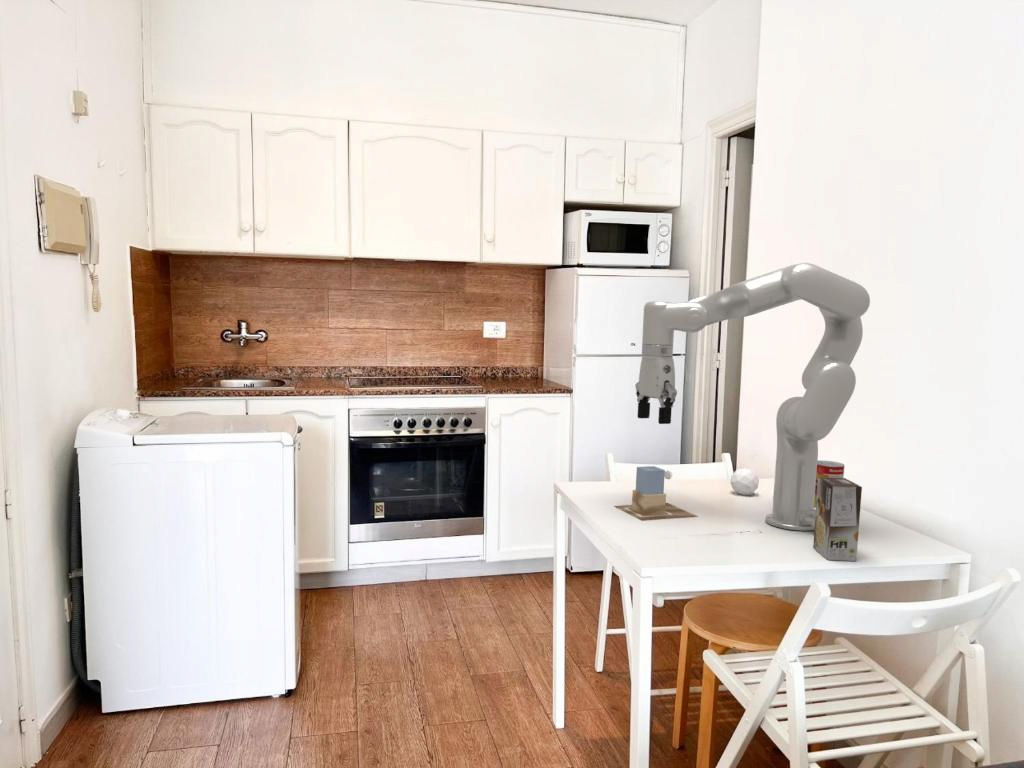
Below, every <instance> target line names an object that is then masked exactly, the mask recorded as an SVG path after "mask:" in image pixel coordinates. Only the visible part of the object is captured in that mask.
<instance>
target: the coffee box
mask: <svg viewBox="0 0 1024 768" xmlns="http://www.w3.org/2000/svg"><path fill="white" fill-rule="evenodd" d="M862 490H863V487H862V486H861V485H859V484H857V483H856V482H853V481H852V480H849V479H847V478H845V477H843V478H832V477H826V478H824V477H818V483H817V498H816V507H815V510H816V514H815V528H814V530H813V531H814V533H813V545H812V548H813V549H814V550H815V551H817V552H818V553H819V554H820V555H821V556H823V557H824V558H825V559H826V560H829V561H846V562H856V561H857V556H858V555H857V554H858V545H859V544H858V543H859V542H858V541H859V530H860V516H861V504H862V492H863V491H862Z"/></svg>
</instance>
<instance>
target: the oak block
mask: <svg viewBox="0 0 1024 768" xmlns="http://www.w3.org/2000/svg"><path fill="white" fill-rule="evenodd" d="M631 494H632V495H631V496H632V497H631V505H632V510H634V511H636V512H638V513H640V514H642V515H658V514H665V505H666V503H667V502H666V501H667V494H666V493H664V494H654V495H645V494H643V493H640V492H638V491H636V489H632V493H631Z"/></svg>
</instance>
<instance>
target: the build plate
mask: <svg viewBox="0 0 1024 768" xmlns="http://www.w3.org/2000/svg"><path fill="white" fill-rule="evenodd" d="M613 507H614V508H616V509H618V510H620V511H622V512H624V513H626V514H628V515H630V516H632V517H634V518H635V519H637V520H639V521H641V522H642V521H643V522H644V521H657V520H659V521H660V520H670V519H671V520H673V519H683V518H684V519H686V518H687V519H688V518H698V517H699V516H698V515H695V514H694V513H691V512H689V511H687V510H684V509H682V508H680V507H678V506H675V505H673V504H671V503H670V502H666V505H665V514H658V515H642V514H640V513H638V512H636V511H634V510H632V504H628V505H627V504H626V505H624V504H623V505H613Z"/></svg>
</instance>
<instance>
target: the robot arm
mask: <svg viewBox="0 0 1024 768" xmlns="http://www.w3.org/2000/svg"><path fill="white" fill-rule="evenodd" d="M799 300H800V301H801V300H802V301H804V302H806V303H809V304H811V305H812V306H815V307H817V308H818V310H819V311H820V312H819V313H820V314H821V315H822V317H823V320H824V324H825V325H824V327H825V329H824V331H823V335H822V337H821V340H820V342H819V344H818V346H817V348H816V349H815V351H814V353H813V354H812V356H811V357H810V360H809V361H808V363H807V365H806V367H805V368H804V370H803V372H802V375H801V384H802V387H803V388H804V389H805V393H804V394H803V396H792V397H790V398H788V399H786V400H784V401H783V402H782V403H781V404H780V406H779V407H778V410H777V413H776V418H775V419H776V457H775V458H776V459H775V470H774V484H773V495H772V496H773V497H772V498H773V499H772V512H771V513H769V514H766V515H765V518H764V519H765V520H764V521H765V522H766V523H767V524H769V525H771V526H773V527H776V528H780V529H783V530H784V529H785V530H790V531H802V532H803V531H805V532H808V531H814V528H815V514H816V509H815V507H814V499H815V486H816V472H817V462H818V459H819V458H818V457H819V443H818V441H821V440H823V439H825V438H826V437H827V436H828V435H829V434H830V433H831V431H832V430H833V428H834V427H835V425H836V424H837V422H838V421H839V419H840V417H841V415H842V414H843V412H844V410H845V408H846V406H847V405H848V403H849V401H850V400H851V397H852V396H853V394H854V391H855V388H856V384H857V383H856V382H857V380H856V373H855V371H854V369H853V368H852V366H851V365H852V363H853V360H854V359H855V356H857V355H856V354H857V353H858V350H860V349H859V348H860V347H861V343H862V339H863V323H862V316H863V315H865V314H866V312H868V309H869V307H870V304H871V298H870V294H869V293H868V291H867V289H866V288H865V286H862V285H861V284H860V283H857V282H856V281H854V280H850V279H849V278H846V277H845V276H842V275H839V274H837V273H835V272H832V271H830V270H827V269H826V268H823V267H820V266H819V265H816V264H813V263H809V262H801V263H800V262H799V263H797V264H796V263H795V264H792V265H789V266H784V267H783V268H779V269H777V270H773V271H770V272H767V273H764V274H762V275H758V276H755V277H752V278H749V279H746V280H743V281H740V282H738V283H737V282H736V283H734V284H732V285H730V286H728V287H725V288H723V289H721V290H717V291H715V292H712V293H708V294H706V295H703V296H700V297H696V298H693V299H690V300H688V301H684V302H670V301H655V300H654V301H648V302H646V303H645V304H644V307H643V319H642V336H641V337H642V338H641V339H642V341H641V362H640V368H639V377H638V382H636V383H635V384H634V385H635V391H636V393H635V395H636V397H637V399H636V400H637V418H638V419H650V414H651V413H650V411H651V402H650V400H651V399H654V400H655V399H657V400H658V402H659V405H660V407H658V422H657V423H658V424H659V425H670V424H671V422H672V411H673V409H672V408H673V407H674V403H675V402H676V397H677V394H678V390H677V389H676V369H675V362H674V361H675V360H674V358H673V354H674V336H675V335H674V334H675V331H679V332H682V333H683V332H685V333H690V334H693V333H699V332H700V331H702V330H703V329H704V328H706V327H707V326H710V325H714V324H716V323H719V322H720V323H721V322H723V321H724V322H725V321H726V320H730V319H731V320H732V319H739V318H740V319H741V318H746V317H751V316H753V315H757V314H759V313H760V314H761V313H762V312H766V311H769V310H772V309H775V308H778V307H782V306H785V305H788V304H790V303H794V302H796V301H799Z"/></svg>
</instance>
